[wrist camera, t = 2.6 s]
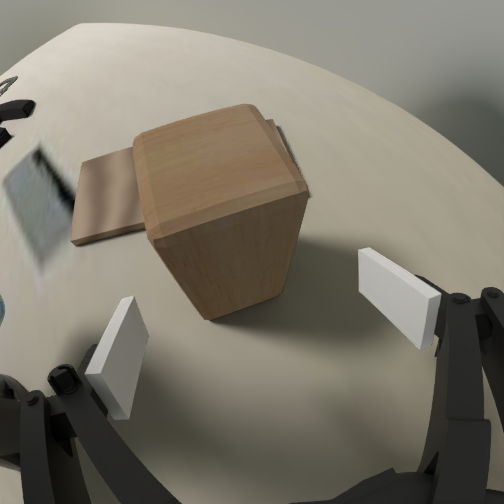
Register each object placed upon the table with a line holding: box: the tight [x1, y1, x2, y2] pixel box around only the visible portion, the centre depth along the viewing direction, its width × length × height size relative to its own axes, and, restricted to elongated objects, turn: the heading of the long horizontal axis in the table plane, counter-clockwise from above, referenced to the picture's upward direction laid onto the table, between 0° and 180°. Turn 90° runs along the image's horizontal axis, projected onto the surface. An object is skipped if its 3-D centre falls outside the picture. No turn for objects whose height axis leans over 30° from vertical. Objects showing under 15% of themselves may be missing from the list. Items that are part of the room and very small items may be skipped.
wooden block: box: [133, 104, 309, 320], centre depth 26 cm, size 10×10×20 cm
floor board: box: [71, 119, 289, 246], centre depth 41 cm, size 34×16×2 cm, turn 103°
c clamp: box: [0, 76, 18, 96], centre depth 70 cm, size 20×17×3 cm
